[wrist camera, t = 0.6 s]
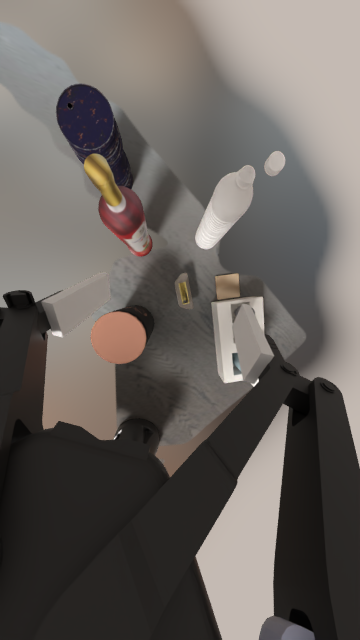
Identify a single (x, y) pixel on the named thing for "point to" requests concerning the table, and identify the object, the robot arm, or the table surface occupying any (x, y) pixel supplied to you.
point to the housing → (231, 333)
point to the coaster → (227, 286)
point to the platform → (183, 291)
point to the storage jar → (93, 129)
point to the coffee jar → (122, 334)
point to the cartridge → (237, 364)
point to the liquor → (119, 207)
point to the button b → (239, 309)
